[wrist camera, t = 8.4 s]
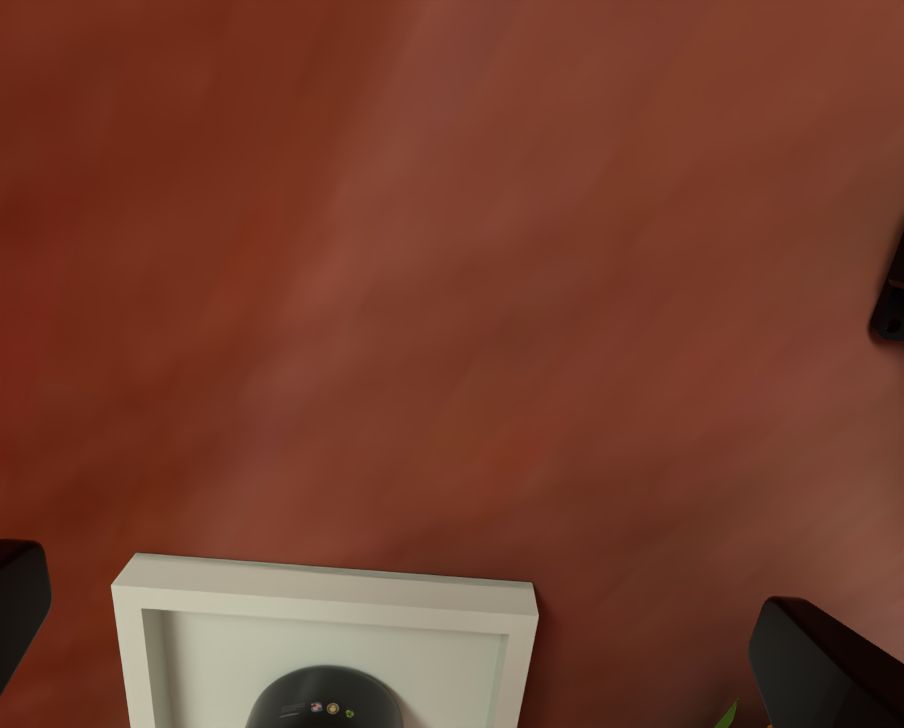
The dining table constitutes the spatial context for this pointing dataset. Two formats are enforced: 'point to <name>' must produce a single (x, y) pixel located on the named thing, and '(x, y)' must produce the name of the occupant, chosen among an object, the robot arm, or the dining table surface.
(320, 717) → the supplement bottle
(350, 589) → the tray
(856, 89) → the dining table surface
